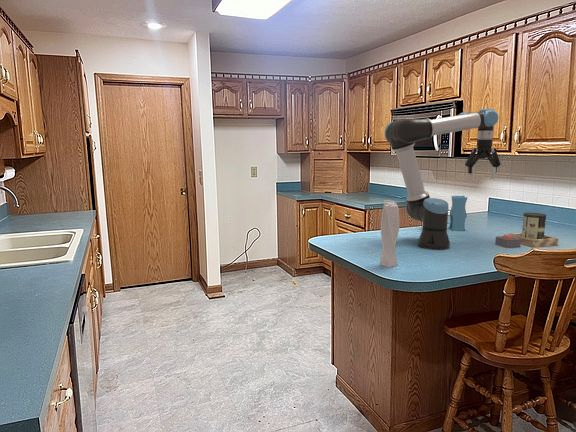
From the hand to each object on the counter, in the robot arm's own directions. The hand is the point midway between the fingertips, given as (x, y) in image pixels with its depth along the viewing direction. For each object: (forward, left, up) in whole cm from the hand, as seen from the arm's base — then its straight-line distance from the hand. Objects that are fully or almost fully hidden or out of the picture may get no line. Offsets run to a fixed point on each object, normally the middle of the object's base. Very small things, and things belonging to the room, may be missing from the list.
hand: (481, 179), depth 229 cm
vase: (+3, +22, -32) cm, 39 cm away
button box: (+2, -20, -32) cm, 38 cm away
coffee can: (+19, -18, -31) cm, 40 cm away
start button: (+2, -20, -30) cm, 36 cm away
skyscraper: (-73, -37, -32) cm, 88 cm away
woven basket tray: (+19, -18, -32) cm, 41 cm away
